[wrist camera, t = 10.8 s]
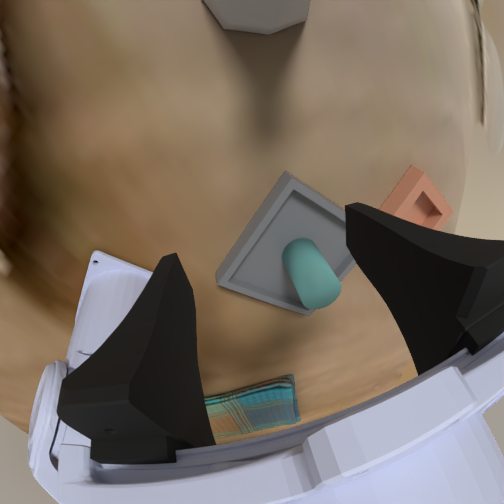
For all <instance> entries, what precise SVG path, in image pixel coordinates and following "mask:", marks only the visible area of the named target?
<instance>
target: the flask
mask: <svg viewBox="0 0 504 504" xmlns="http://www.w3.org/2000/svg"><path fill="white" fill-rule="evenodd" d="M204 2H205V3H206V5H207V6H208V7H209V9H210V10H211V12H212V13H213V14H214V16H215V17H216V19H217V20H218V22H219V23H220V24H221V26H222V27H223V29H228V30H237V31H246V32H253V33H259V34H266V35H270V34H273V33H275V32H277V31H280V30H282V29H285V28H287V27H290V26H293V25H295V24H298V23H301V22H303V21H306V20H307V16H308V10H309V4H310V0H204Z"/></svg>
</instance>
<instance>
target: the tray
mask: <svg viewBox="0 0 504 504" xmlns="http://www.w3.org/2000/svg"><path fill="white" fill-rule="evenodd" d="M298 238H307V239H310V240H312V241H313V242H314V244H315V245H316V246H317V248H318V249H319V251H320V252H321V254H322V255H323V257H324V258H325V260H326V261H327V263H328V264H329V266H330V267H331V269H332V271H333V272H334V274H335V275H336V277H337V278H338V280H339V281H340V282H341V281H342V279H343V278H344V277H345V276H346V275H347V274H348V273H349V271H350V270H351V269H352V268H353V267H354V266H355V264H356V262H355V260H354V258H353V257H352V255H351V253H350V251H349V249H348V248H347V246H346V221H345V210H344V209H342V208H341V207H339V206H338V205H337V204H335V203H334V202H332V201H331V200H329V199H328V198H326V197H325V196H323V195H322V194H320V193H319V192H317V191H316V190H314V189H313V188H311V187H310V186H308V185H307V184H305V183H304V182H302V181H300V180H299V179H297V178H296V177H294V176H293V175H291V174H289V173H288V172H286V171H285V172H284V173H283V175H282V176H281V178H280V179H279V181H278V182H277V183H276V185H275V186H274V188H273V189H272V191H271V192H270V194H269V195H268V196H267V198H266V199H265V201H264V202H263V204H262V205H261V207H260V208H259V210H258V211H257V212H256V214H255V215H254V217H253V218H252V220H251V221H250V223H249V224H248V226H247V227H246V229H245V230H244V231H243V233H242V234H241V236H240V237H239V239H238V240H237V242H236V243H235V245H234V246H233V248H232V249H231V251H230V252H229V254H228V255H227V257H226V258H225V260H224V261H223V263H222V264H221V266H220V267H219V269H218V270H217V272H216V279H217V285H220V286H222V287H225V288H228V289H231V290H233V291H236V292H239V293H242V294H245V295H248V296H250V297H253V298H256V299H259V300H262V301H265V302H268V303H271V304H273V305H276V306H279V307H282V308H285V309H288V310H291V311H294V312H297V313H300V314H303V315H306V316H310V315H311V314H312V313H313V312H314V310H315V309H309V308H307V307H305V306H304V305H303V303H302V301H301V299H300V297H299V294H298V292H297V290H296V288H295V286H294V284H293V282H292V280H291V277H290V275H289V273H288V271H287V269H286V267H285V265H284V263H283V260H282V253H283V250H284V248H285V247H286V246H287V245H288V244H289V243H290V242H291V241H293V240H295V239H298Z"/></svg>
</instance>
